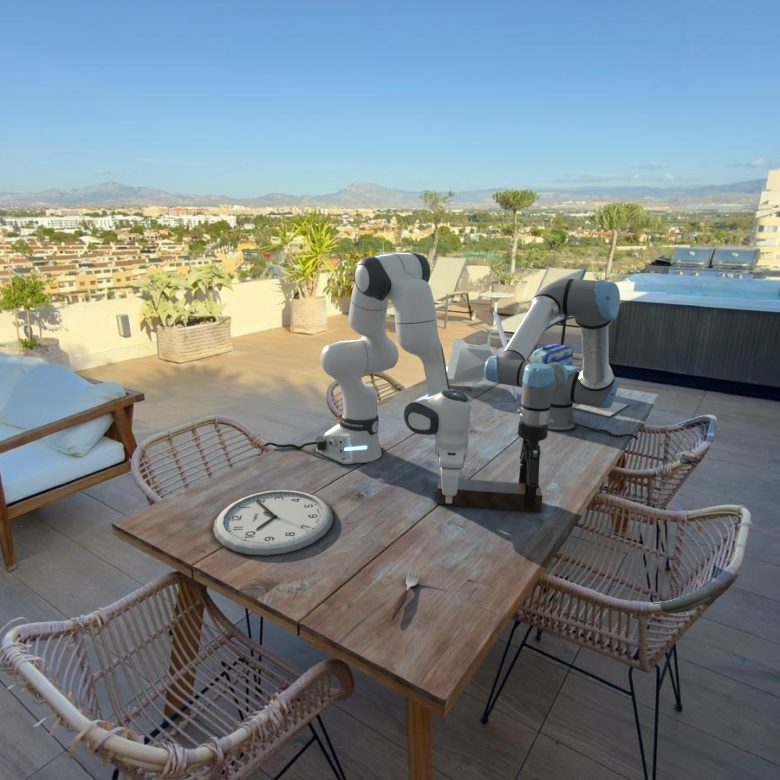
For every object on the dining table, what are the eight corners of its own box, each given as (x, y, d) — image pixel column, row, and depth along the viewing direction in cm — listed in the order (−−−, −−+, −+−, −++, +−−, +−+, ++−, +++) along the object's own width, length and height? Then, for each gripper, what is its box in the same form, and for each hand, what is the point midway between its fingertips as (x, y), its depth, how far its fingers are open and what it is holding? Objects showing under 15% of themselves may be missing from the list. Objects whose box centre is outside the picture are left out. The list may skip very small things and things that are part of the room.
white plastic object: (461, 429, 252) (437, 405, 227) (444, 352, 274) (420, 323, 250) (535, 404, 240) (518, 377, 215) (510, 326, 262) (492, 293, 237)
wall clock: (331, 546, 121) (198, 551, 119) (331, 552, 122) (199, 557, 119) (333, 485, 150) (227, 488, 147) (334, 490, 150) (227, 493, 148)
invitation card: (608, 416, 214) (573, 407, 224) (608, 416, 214) (573, 408, 224) (628, 404, 229) (594, 396, 238) (628, 405, 229) (594, 397, 238)
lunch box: (545, 396, 239) (550, 351, 232) (524, 391, 246) (528, 347, 240) (572, 385, 256) (577, 343, 250) (552, 380, 263) (557, 339, 257)
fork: (385, 619, 101) (385, 611, 101) (410, 571, 116) (411, 563, 115) (398, 623, 100) (398, 614, 100) (422, 574, 115) (422, 566, 114)
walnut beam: (537, 500, 147) (539, 484, 146) (540, 512, 141) (542, 495, 140) (437, 492, 150) (438, 477, 149) (436, 504, 144) (437, 488, 143)
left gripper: (440, 434, 153) (438, 476, 157) (438, 464, 133) (436, 512, 137) (462, 435, 152) (459, 478, 156) (463, 465, 133) (460, 513, 137)
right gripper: (514, 407, 149) (507, 476, 156) (524, 438, 127) (516, 518, 133) (541, 408, 148) (533, 478, 155) (556, 440, 126) (546, 520, 132)
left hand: (448, 494), depth 147 cm, fingers open, 7 cm apart
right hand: (525, 496), depth 144 cm, fingers open, 11 cm apart
